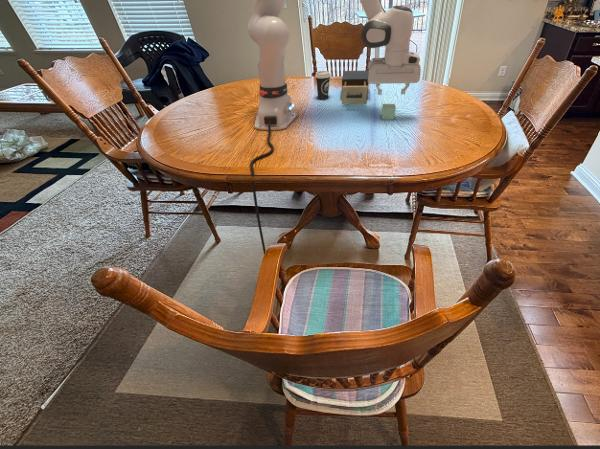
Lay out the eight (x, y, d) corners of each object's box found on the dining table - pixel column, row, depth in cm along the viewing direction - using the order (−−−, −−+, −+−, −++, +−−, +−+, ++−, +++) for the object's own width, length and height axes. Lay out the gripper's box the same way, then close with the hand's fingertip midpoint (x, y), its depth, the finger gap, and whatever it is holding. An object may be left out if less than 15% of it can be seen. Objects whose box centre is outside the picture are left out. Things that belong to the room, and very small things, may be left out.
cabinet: (367, 99, 150) (368, 78, 144) (341, 99, 152) (341, 79, 146) (366, 90, 161) (368, 70, 155) (342, 90, 163) (343, 70, 157)
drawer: (366, 107, 140) (367, 89, 135) (341, 107, 142) (341, 90, 136) (366, 94, 153) (367, 77, 148) (343, 94, 155) (343, 78, 150)
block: (394, 119, 130) (395, 108, 127) (382, 119, 131) (383, 108, 127) (393, 115, 134) (394, 103, 130) (381, 115, 134) (382, 103, 131)
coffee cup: (328, 94, 159) (329, 69, 152) (331, 99, 154) (332, 73, 146) (314, 96, 159) (313, 71, 151) (316, 100, 153) (316, 75, 145)
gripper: (368, 60, 116) (365, 97, 125) (424, 58, 113) (417, 96, 122) (368, 56, 121) (365, 92, 130) (422, 54, 118) (415, 91, 127)
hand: (391, 94), depth 126 cm, fingers open, 8 cm apart
